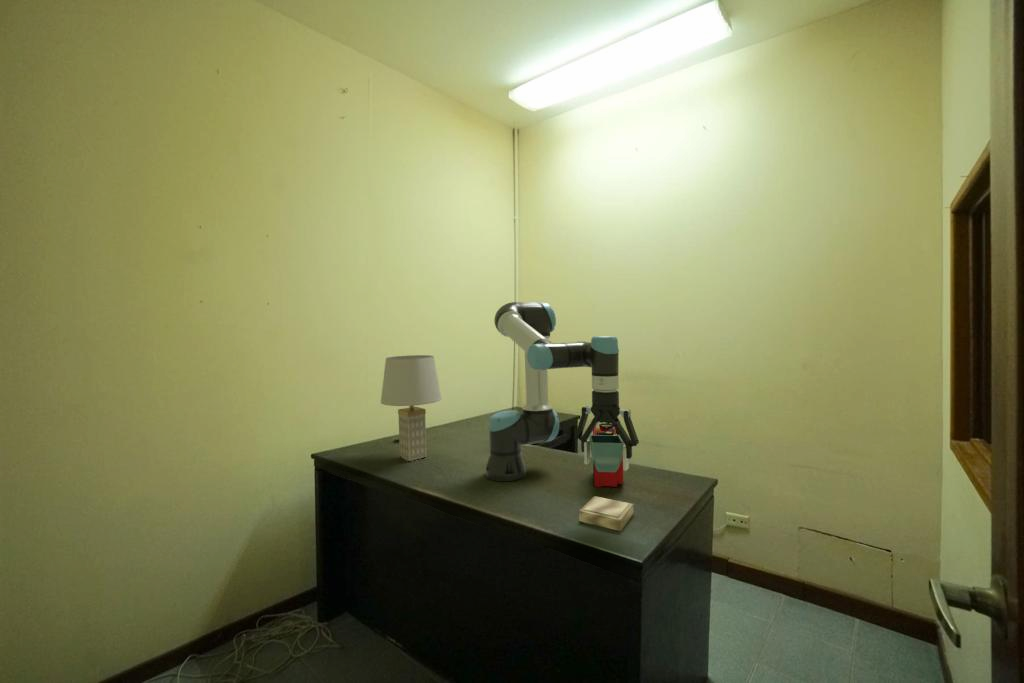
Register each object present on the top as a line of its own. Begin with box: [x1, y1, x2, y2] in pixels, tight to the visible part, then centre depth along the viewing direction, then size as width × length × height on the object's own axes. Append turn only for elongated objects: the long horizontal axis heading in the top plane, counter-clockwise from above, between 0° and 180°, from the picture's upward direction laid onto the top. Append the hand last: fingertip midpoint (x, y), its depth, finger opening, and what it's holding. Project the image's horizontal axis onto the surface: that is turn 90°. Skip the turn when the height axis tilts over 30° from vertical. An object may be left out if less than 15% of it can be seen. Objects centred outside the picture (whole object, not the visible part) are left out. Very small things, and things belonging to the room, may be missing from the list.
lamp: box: [380, 354, 442, 460], centre depth 183 cm, size 25×25×44 cm
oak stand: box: [578, 495, 635, 532], centre depth 124 cm, size 12×12×3 cm
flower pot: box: [589, 434, 625, 472], centre depth 123 cm, size 9×9×9 cm
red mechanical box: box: [592, 422, 624, 488], centre depth 153 cm, size 16×10×20 cm, turn 168°
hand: (606, 466), depth 123 cm, fingers closed on flower pot, 11 cm apart
